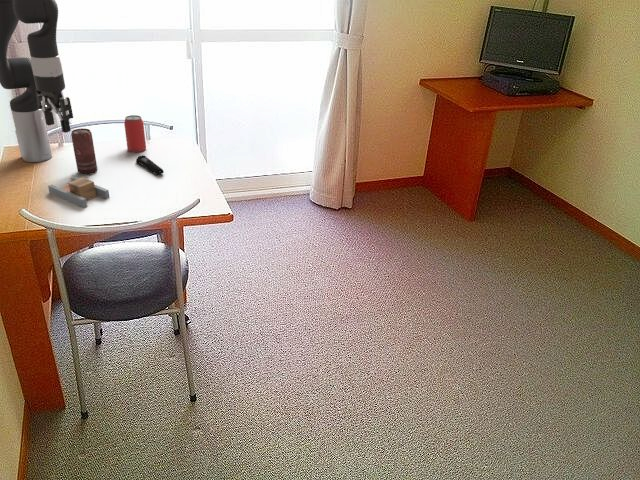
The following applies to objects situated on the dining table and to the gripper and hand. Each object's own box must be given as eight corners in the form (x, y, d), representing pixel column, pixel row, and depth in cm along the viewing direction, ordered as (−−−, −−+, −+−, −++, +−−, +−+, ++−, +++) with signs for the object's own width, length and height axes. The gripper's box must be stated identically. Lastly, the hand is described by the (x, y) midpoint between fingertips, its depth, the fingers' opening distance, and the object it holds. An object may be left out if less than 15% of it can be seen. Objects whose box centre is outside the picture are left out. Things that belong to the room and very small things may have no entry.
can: (91, 176, 176) (84, 135, 169) (74, 173, 177) (66, 132, 170) (102, 169, 181) (95, 129, 175) (84, 167, 182) (77, 126, 175)
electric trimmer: (156, 178, 179) (155, 169, 177) (135, 163, 188) (134, 154, 187) (166, 176, 181) (165, 167, 179) (145, 161, 191) (144, 152, 189)
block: (71, 198, 162) (68, 182, 160) (85, 192, 166) (82, 177, 164) (82, 202, 160) (79, 187, 158) (96, 196, 164) (93, 181, 161)
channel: (49, 193, 164) (47, 185, 163) (75, 183, 171) (74, 176, 170) (83, 207, 157) (82, 200, 156) (109, 197, 164) (108, 189, 162)
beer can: (124, 151, 197) (120, 119, 191) (132, 145, 202) (128, 113, 196) (141, 153, 196) (137, 121, 190) (149, 147, 201) (146, 115, 196)
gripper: (21, 69, 152) (33, 125, 160) (49, 79, 145) (60, 137, 153) (46, 65, 157) (57, 119, 165) (74, 75, 150) (84, 131, 158)
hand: (58, 128), depth 159 cm, fingers open, 8 cm apart
